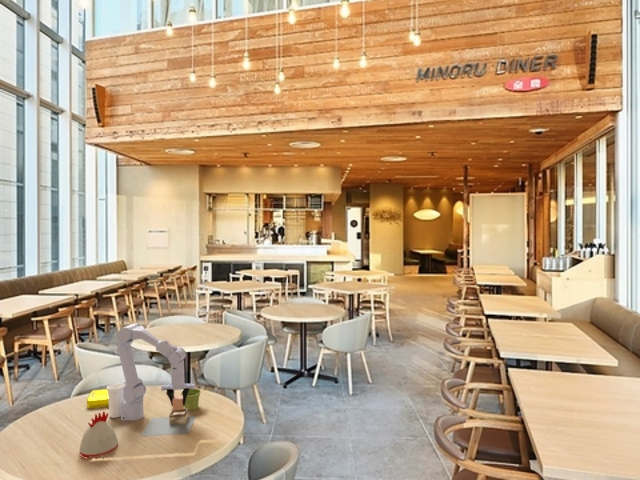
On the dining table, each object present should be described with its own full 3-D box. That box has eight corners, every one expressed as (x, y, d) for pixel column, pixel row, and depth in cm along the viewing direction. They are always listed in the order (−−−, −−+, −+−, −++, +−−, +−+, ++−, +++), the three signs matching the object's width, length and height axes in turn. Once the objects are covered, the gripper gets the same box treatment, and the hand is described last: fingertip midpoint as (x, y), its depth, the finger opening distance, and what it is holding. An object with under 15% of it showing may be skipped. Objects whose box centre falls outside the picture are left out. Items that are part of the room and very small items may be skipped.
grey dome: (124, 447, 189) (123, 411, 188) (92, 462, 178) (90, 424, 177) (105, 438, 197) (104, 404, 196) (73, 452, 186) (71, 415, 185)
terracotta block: (172, 410, 209) (172, 399, 209) (174, 406, 213) (174, 395, 213) (182, 409, 209) (182, 399, 209) (184, 406, 214) (184, 395, 214)
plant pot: (189, 415, 219) (189, 397, 219) (177, 410, 225) (176, 392, 225) (205, 408, 227) (204, 391, 226) (193, 404, 233) (192, 387, 232)
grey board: (140, 438, 197) (140, 436, 197) (152, 420, 215) (151, 417, 215) (188, 436, 198) (188, 433, 198) (196, 417, 216) (196, 415, 216)
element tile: (91, 398, 243) (91, 389, 242) (122, 395, 247) (122, 386, 247) (86, 409, 228) (85, 400, 228) (119, 405, 233) (118, 396, 232)
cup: (129, 412, 223) (128, 383, 223) (120, 419, 215) (119, 389, 215) (113, 411, 224) (112, 382, 224) (104, 419, 216) (102, 388, 216)
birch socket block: (169, 424, 208) (169, 415, 208) (172, 417, 215) (172, 408, 215) (185, 423, 209) (185, 414, 208) (188, 416, 216) (188, 408, 215)
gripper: (159, 379, 206) (160, 409, 207) (192, 378, 207) (193, 407, 208) (163, 374, 213) (163, 403, 214) (195, 372, 214) (196, 401, 215)
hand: (178, 405), depth 211 cm, fingers closed on terracotta block, 4 cm apart
